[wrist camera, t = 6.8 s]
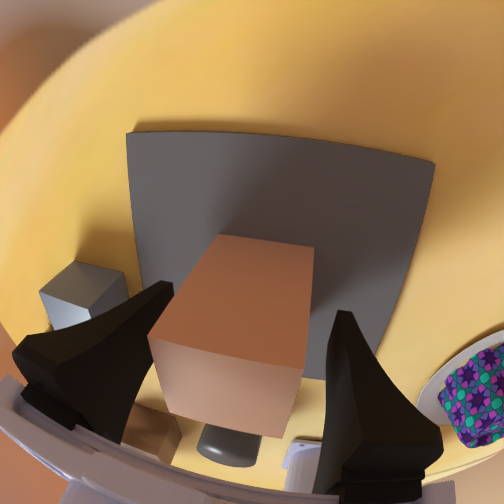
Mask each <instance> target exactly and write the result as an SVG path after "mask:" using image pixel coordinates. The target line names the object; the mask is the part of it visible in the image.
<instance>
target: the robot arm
mask: <svg viewBox="0 0 504 504" xmlns="http://www.w3.org/2000/svg"><path fill="white" fill-rule="evenodd" d="M173 297H174V288H173V282H168V281H163V280H160V281H158V282H156V283H155V284H153V285H151V286H150V287H148V288H146V289H145V290H143V291H141V292H140V293H138V294H137V295H135V296H133V297H132V298H130V299H128V300H127V301H125V302H123V303H121V304H119V305H118V306H116V307H114V308H112V309H110V310H109V311H107V312H105V313H102V314H100V315H98V316H96V317H94V318H91V319H89V320H87V321H84V322H81V323H78V324H75V325H72V326H69V327H66V328H62V329H59V330H55V331H50V332H45V333H39V334H32V335H27V336H26V337H25V338H24V339H23V340H22V342H21V343H20V344H19V345H18V346H17V347H16V348H15V349H14V351H13V352H12V357H13V360H14V362H15V364H16V365H17V367H18V368H19V370H20V372H21V373H22V375H23V376H24V377H25V379H26V380H27V382H28V384H27V386H26V387H24V386H23V384H22V383H20V382H19V381H18V380H16V379H15V378H14V377H12V376H11V375H10V374H6V375H5V376H4V377H3V379H2V380H1V381H0V428H1V429H2V430H3V431H4V432H5V433H6V434H7V435H8V436H9V437H10V438H11V439H12V440H14V441H15V442H16V443H17V444H18V445H20V446H21V447H22V448H23V449H25V450H26V451H27V452H28V453H29V454H31V455H32V456H34V457H35V458H36V459H37V460H39V461H40V462H41V463H43V464H44V465H45V466H47V467H48V468H50V469H51V470H52V471H54V472H55V473H57V474H58V475H60V476H61V477H63V478H64V479H66V480H67V481H69V482H70V483H69V485H68V487H67V489H66V491H65V492H64V494H63V496H62V498H61V500H60V502H59V504H233V503H238V504H456V497H455V484H454V481H452V480H451V481H445V482H440V483H433V484H428V485H425V486H423V487H422V483H421V480H423V479H424V478H425V469H426V468H427V467H429V466H430V465H431V464H433V463H434V462H435V461H437V460H438V459H439V458H440V457H441V455H442V454H443V452H444V448H443V440H442V435H441V431H440V427H438V426H437V425H436V424H435V423H433V422H432V421H431V420H430V419H428V418H427V417H426V416H425V415H423V414H422V413H421V412H420V411H419V410H418V409H417V408H416V407H415V406H414V405H413V404H412V403H411V402H410V401H409V400H408V399H407V398H406V397H405V396H404V395H403V394H402V393H401V392H400V391H399V389H398V388H397V387H396V386H395V385H394V383H393V382H392V381H391V380H390V378H389V377H388V376H387V374H386V373H385V371H384V370H383V368H382V367H381V365H380V364H379V362H378V361H377V359H376V357H375V356H374V354H373V352H372V350H371V349H370V347H369V345H368V343H367V341H366V339H365V338H364V336H363V334H362V332H361V330H360V327H359V325H358V323H357V321H356V319H355V317H354V314H353V313H352V311H345V310H337V313H336V317H335V320H334V323H333V327H332V330H331V334H330V337H329V340H328V343H327V353H326V364H325V367H326V415H325V424H324V431H323V438H322V442H318V441H308V440H300V439H294V440H292V442H291V444H290V447H289V449H288V451H287V454H286V456H285V459H284V461H283V463H282V468H284V469H288V470H287V476H286V481H285V486H284V491H279V490H272V489H265V488H259V487H254V486H248V485H243V484H238V483H234V482H229V481H225V480H220V479H216V478H212V477H209V476H205V475H201V474H198V473H194V472H191V471H187V470H184V469H181V468H178V467H175V466H172V465H169V464H166V463H163V462H160V461H158V460H155V459H152V458H149V457H147V456H144V455H142V454H139V453H137V452H134V451H132V450H130V449H127V448H125V447H123V446H120V445H121V441H122V437H123V434H124V430H125V427H126V424H127V421H128V418H129V415H130V412H131V409H132V406H133V404H134V401H135V399H136V396H137V394H138V391H139V389H140V387H141V384H142V382H143V380H144V378H145V376H146V374H147V372H148V370H149V369H150V367H151V365H152V364H153V362H154V360H153V357H152V353H151V349H150V345H149V341H148V337H147V335H148V334H149V332H150V331H151V329H152V328H153V326H154V325H155V323H156V322H157V320H158V319H159V317H160V316H161V314H162V313H163V311H164V310H165V308H166V307H167V306H168V304H169V303H170V301H171V300H172V298H173ZM219 499H220V500H219ZM222 500H224V501H222ZM225 501H228V502H225ZM229 502H233V503H229Z"/></svg>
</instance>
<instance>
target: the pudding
mask: <svg viewBox="0 0 504 504" xmlns="http://www.w3.org/2000/svg"><path fill="white" fill-rule="evenodd" d="M502 342H504V330H501V331H499V332H496V333H494V334H491V335H489V336H487V337H485V338H484V339H482V340H480V341H478V342H476V343H474V344H473V345H471V346H470V347H468V348H466V349H465V350H463V351H462V352H461V353H459V354H458V355H456V356H455V357H454V358H452V359H451V360H450V361H449V362H447V363H446V364H445V365H444V366H443V367H442V368H440V369H439V370H438V371H437V372H436V373H435V374H434V375H433V376H432V377H431V379H430V380H429V381H428V382H427V384H426V385H425V386H424V388H423V389H422V391H421V393H420V395H419V397H418V400H417V404H416V408H417V409H418V410H419V411H420V412H421V413H422V414H423V415H425V416H426V417H427V418H428V419H430V420H431V421H432V422H433V423H435V424H437V425H451V424H452V426H453V428H454V430H455V431H456V433H457V435H458V437H459V439H460V441H461V442H462V443H463V444H464V445H465V446H466V447H468V448H476V447H479V446H486V445H489V444H491V443H493V442H495V441H496V440H498V439H500V438H503V437H504V343H503V344H501V345H500V346H498V347H497V348H495V349H494V350H493V349H486V348H488V347H490V346H493V345H495V344H499V343H502ZM484 349H485V350H484ZM482 350H483V351H482ZM476 353H477V354H476ZM473 355H474V356H473ZM471 356H473V357H471ZM470 357H471V358H470ZM468 358H470V359H469V361H468V362H467V364H466V365H465V366H463V367H461V368H458V369H456V368H457V367H458V366H459V365H460V364H461V363H463V362H464V361H466V360H467V359H468ZM454 369H456V370H455V371H453V370H454ZM452 371H453V372H452ZM451 372H452V373H451ZM450 373H451V374H450ZM449 374H450V375H449ZM448 375H449V376H448ZM446 378H447V379H446ZM445 379H446V380H445ZM444 380H445V385H446V387H445V388H444V389H443V390H442V391H441V392H440V393H439V395H438V399H439V401H440V403H441V405H442V406H440V405H439V403H438V400H437V394H438V391H439V388H440V386H441V385H442V383H443V382H444Z"/></svg>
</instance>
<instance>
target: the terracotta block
mask: <svg viewBox="0 0 504 504" xmlns="http://www.w3.org/2000/svg"><path fill="white" fill-rule="evenodd" d="M313 262H314V248H313V247H307V246H300V245H293V244H286V243H280V242H273V241H266V240H259V239H252V238H245V237H238V236H231V235H224V234H218V235H217V236H216V237H215V239H214V240H213V242H212V243H211V244H210V246H209V247H208V249H207V250H206V251H205V253H204V254H203V256H202V257H201V258H200V260H199V261H198V263H197V264H196V265H195V267H194V268H193V270H192V271H191V272H190V274H189V275H188V277H187V278H186V280H185V281H184V282H183V284H182V285H181V287H180V288H179V290H178V291H177V292H176V294H175V295H174V297H173V298H172V300H171V301H170V303H169V304H168V306H167V307H166V308H165V310H164V311H163V313H162V314H161V316H160V317H159V319H158V320H157V322H156V323H155V325H154V326H153V328H152V329H151V331H150V332H149V334H148V335H147V337H148V341H149V345H150V349H151V353H152V357H153V360H154V364H155V368H156V371H157V375H158V378H159V382H160V385H161V388H162V391H163V395H164V398H165V401H166V404H167V407H168V410H169V412H170V413H173V414H176V415H179V416H182V417H186V418H189V419H193V420H196V421H200V422H204V423H207V424H211V425H215V426H219V427H224V428H228V429H232V430H237V431H241V432H246V433H251V434H257V435H262V436H268V437H274V438H280V439H282V437H283V435H284V432H285V429H286V426H287V423H288V420H289V417H290V414H291V411H292V408H293V405H294V401H295V398H296V395H297V392H298V389H299V385H300V382H301V379H302V375H303V372H304V367H305V358H306V349H307V339H308V328H309V317H310V305H311V292H312V278H313Z"/></svg>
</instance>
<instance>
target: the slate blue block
mask: <svg viewBox="0 0 504 504" xmlns="http://www.w3.org/2000/svg"><path fill="white" fill-rule="evenodd" d="M39 294H40V297H41V299H42V302H43V304H44V307H45V309H46V312H47V314H48V316H49V319H50V321H51V323H52V326H53V328H54V330H59V329H62V328H66V327H69V326H72V325H75V324H78V323H81V322H84V321H87V320H89V319H91V318H94V317H96V316H98V315H100V314H102V313H105V312H107V311H109V310H110V309H112V308H114V307H116V306H118V305H119V304H121V303H123V302H125V301H127V300H128V299H129V296H128V292H127V287H126V283H125V278H124V273H123V272H119V271H115V270H110V269H106V268H101V267H97V266H93V265H89V264H84V263H80V262H76V261H73V262H72V263H71V264H70V265H68V266H67V267H66V268H65V269H64V270H62V271H61V272H60V273H59V274H58V275H57V276H55V277H54V278H53V279H52V280H51V281H50V282H48V283H47V284H46V285H45V286H44V287H43V288H42V289H40V290H39Z"/></svg>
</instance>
